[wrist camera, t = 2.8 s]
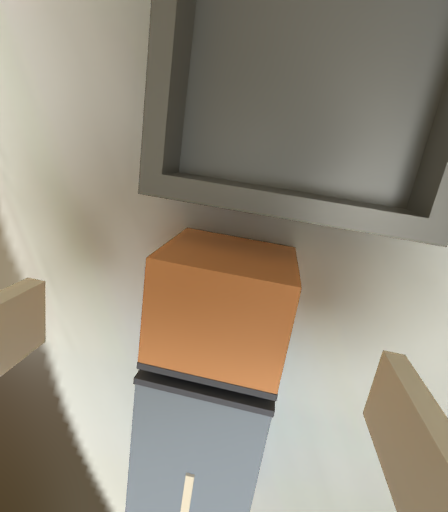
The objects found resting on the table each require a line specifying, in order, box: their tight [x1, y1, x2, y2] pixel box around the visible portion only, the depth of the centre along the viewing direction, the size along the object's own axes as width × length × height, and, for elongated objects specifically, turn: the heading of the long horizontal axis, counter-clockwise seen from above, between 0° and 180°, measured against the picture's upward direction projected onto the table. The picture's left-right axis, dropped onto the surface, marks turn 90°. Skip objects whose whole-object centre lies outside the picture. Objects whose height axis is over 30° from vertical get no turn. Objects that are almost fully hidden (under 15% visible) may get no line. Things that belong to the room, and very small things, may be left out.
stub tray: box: [138, 0, 448, 247], centre depth 14 cm, size 13×13×4 cm
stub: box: [137, 228, 302, 401], centre depth 16 cm, size 5×6×6 cm
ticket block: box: [125, 369, 275, 512], centre depth 19 cm, size 12×6×6 cm, turn 172°
